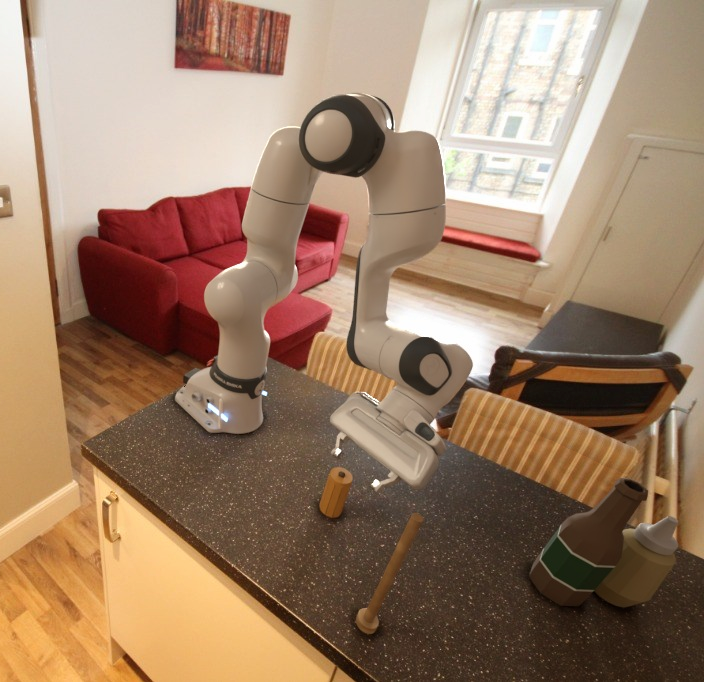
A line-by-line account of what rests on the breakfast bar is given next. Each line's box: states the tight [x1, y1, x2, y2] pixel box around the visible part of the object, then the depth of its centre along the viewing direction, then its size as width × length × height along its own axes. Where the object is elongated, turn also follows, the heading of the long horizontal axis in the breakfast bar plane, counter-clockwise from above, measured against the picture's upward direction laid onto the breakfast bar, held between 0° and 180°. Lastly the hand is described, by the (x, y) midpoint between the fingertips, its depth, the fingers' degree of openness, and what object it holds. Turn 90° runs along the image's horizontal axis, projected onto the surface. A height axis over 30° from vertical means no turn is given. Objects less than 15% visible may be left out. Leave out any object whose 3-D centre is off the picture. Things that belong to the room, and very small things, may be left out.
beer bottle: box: [528, 477, 649, 607], centre depth 69 cm, size 8×8×24 cm
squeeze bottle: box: [593, 515, 679, 608], centre depth 71 cm, size 8×8×18 cm
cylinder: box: [318, 466, 353, 519], centre depth 83 cm, size 4×4×10 cm
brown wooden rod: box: [355, 512, 425, 635], centre depth 61 cm, size 3×3×24 cm
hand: (353, 472), depth 83 cm, fingers open, 8 cm apart
